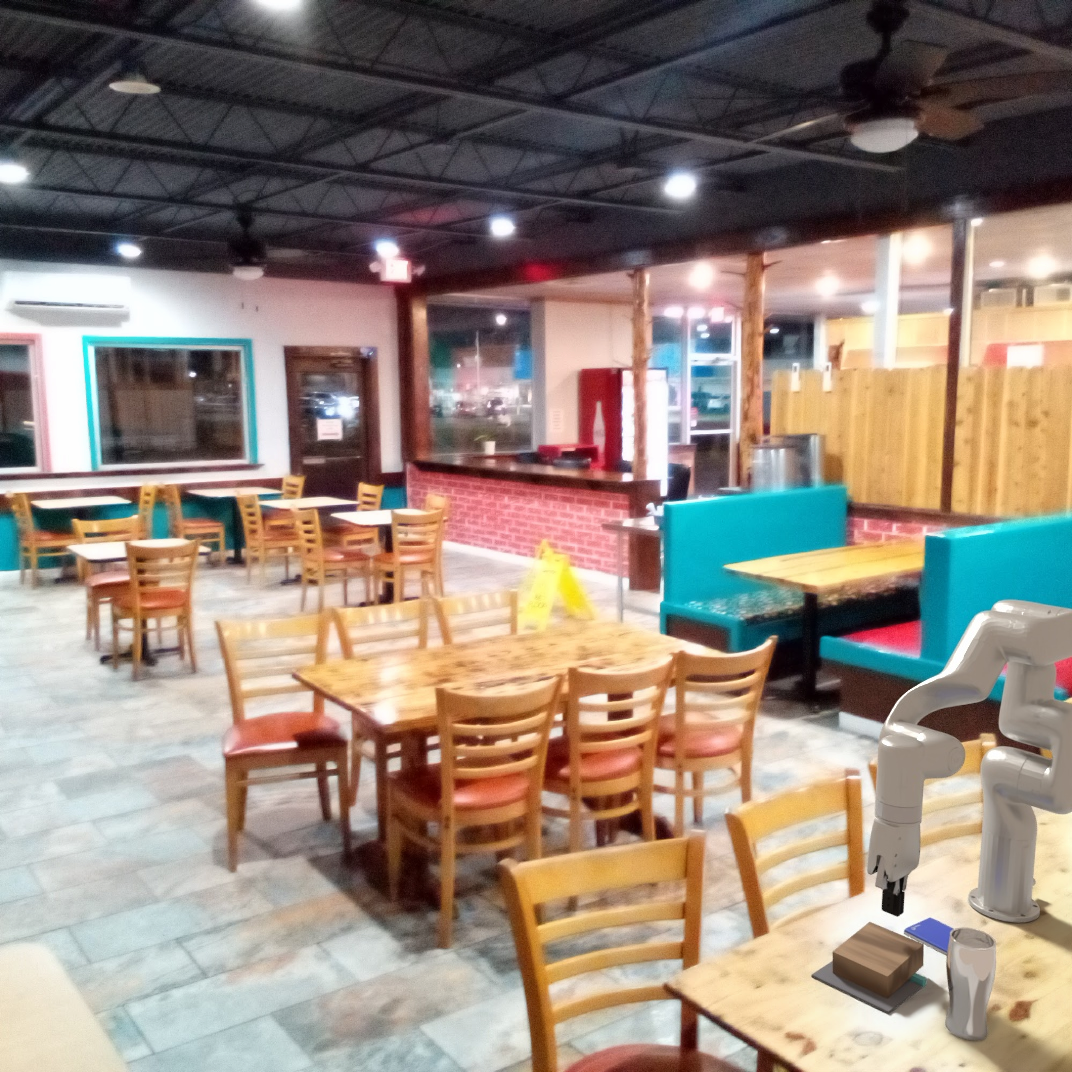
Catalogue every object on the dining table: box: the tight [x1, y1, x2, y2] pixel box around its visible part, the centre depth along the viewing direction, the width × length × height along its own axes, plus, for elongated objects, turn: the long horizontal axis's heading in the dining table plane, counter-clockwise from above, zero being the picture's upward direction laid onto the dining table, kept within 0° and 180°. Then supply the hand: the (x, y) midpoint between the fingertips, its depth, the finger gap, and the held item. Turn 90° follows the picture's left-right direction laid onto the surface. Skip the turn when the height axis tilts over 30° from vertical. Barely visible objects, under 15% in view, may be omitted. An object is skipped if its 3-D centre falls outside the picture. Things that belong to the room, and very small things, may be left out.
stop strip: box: [908, 972, 928, 988], centre depth 173 cm, size 1×14×1 cm, turn 42°
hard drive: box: [903, 917, 955, 956], centre depth 182 cm, size 2×8×12 cm
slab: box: [832, 921, 925, 999], centre depth 171 cm, size 4×10×12 cm
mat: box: [811, 960, 923, 1015], centre depth 169 cm, size 11×14×1 cm
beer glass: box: [944, 926, 997, 1042], centre depth 156 cm, size 7×7×15 cm
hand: (892, 912), depth 173 cm, fingers closed
